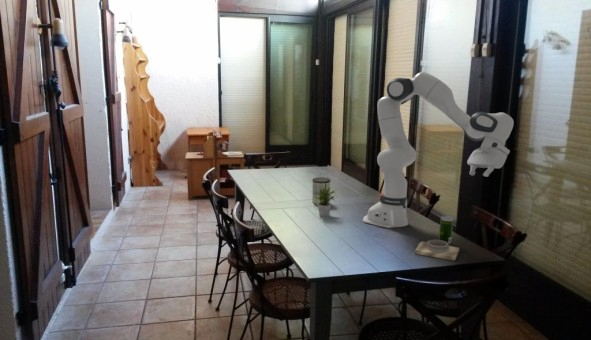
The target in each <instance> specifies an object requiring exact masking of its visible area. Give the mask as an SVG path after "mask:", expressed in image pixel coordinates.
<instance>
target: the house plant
mask: <svg viewBox="0 0 591 340" xmlns="http://www.w3.org/2000/svg"><path fill="white" fill-rule="evenodd" d="M318 187H319V186H318ZM331 188H332V186H330V188H329V186H328V188H327V190H326V193H325V189H324V186H323V190H322V189H321V188H320V187H319V190H320V191H319V192H320V194H319V192H318V191H317V190H316V191H317V193H318V194H319V198H320V199H319V198H318V197H316V196H314V197H315V198H318V199H319V200H320V203H318V205H317V206H318V207H317V208H318V215H319V216H320V217H322V218H323V217H324V218H325V217H329V216H330V213H331V208H332V207H331V206H332V203H331V200H332V201H333V200H334V201H335V197H336V196H337V195H333V196H332V194H335V193H337V191H338V189H337V188H336V189H334V190H332V191H331ZM322 191H323V192H322ZM329 192H330V193H329ZM328 193H329V194H328ZM329 195H330V196H329ZM329 197H330V198H329ZM328 198H329V199H328ZM329 200H330V203H328V202H329Z"/></svg>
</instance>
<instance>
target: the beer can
mask: <svg viewBox="0 0 591 340" xmlns="http://www.w3.org/2000/svg"><path fill="white" fill-rule="evenodd" d="M439 222H440V223H439V232H438V233H439V235H438V240H442V241H445V242H447V243H448V244H449V246H451V244H452V240H453V238H452V237H453V231H454V230H453V228H454V218H453V216H450V215H441V217H440V221H439Z"/></svg>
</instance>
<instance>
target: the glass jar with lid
mask: <svg viewBox="0 0 591 340" xmlns="http://www.w3.org/2000/svg"><path fill="white" fill-rule="evenodd" d="M311 180H312V201H311V203H312V204H313V205H316V206H318V203H320V200H319V199H320V198H319V194H320V192H319V191H320V190H319V187H320V188H321V189H322V190H323V186H324V189H325V193H326V190H327V188H328V186H329V188H330V187H331V178H328V177H315V178H312V179H311ZM318 186H319V187H318ZM330 189H331V188H330ZM316 190H317V191H318V192H319V194H318V193H317V191H316ZM322 192H323V191H322ZM330 192H331V191H330ZM330 192H329V193H330ZM329 193H328V194H329ZM314 196H316V197H318V198H319V199H318V198H315V197H314ZM329 196H331V195H329ZM329 198H331V197H329ZM329 198H328V199H329ZM330 200H331V199H330ZM330 200H329V202H328V203H331V201H330Z"/></svg>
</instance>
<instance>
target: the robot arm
mask: <svg viewBox="0 0 591 340" xmlns="http://www.w3.org/2000/svg"><path fill="white" fill-rule="evenodd" d="M386 93H387V95H385V96H382V97H381V98H380V99H378V100H377V105H376V106H377V119H378V125H379V129H380V135H381V137H382V139H384V140H385V142H386V143H387V146H388V147H387V148H385V149H382V151H380V152H379V153H378V155H377V157H376V158H377V159H376V161H377V165H378V166H379V167H380V169H381V171H382V175H383V181H384V183H383V184H384V185H383V192H382V193H381V194H380V195H379V198H378V200H379V201H378V202H377V203H375V204H373V205H372V206H370V208H369V209H368V210H367V214H366V215H365V216H363V218H362V222H363V223H364V224H365V223H366V224H370V225H372V226H378V227H383V228H388V229H393V228H402V227H406V226H408V225H409V222H408V217H407V206H408V196H407V192H408V181H407V179H406V178H405V174H404V168H407V167H409V166H410V165H413V163H414V162H415V161H416V159H417V151H416V150H415V148H414V147H413V146H412V145H411V144H410V142H409V139H408V138H407V135H406V133H405V129H404V123H403V119H402V114H401V113H402V112H401V105H403V104H406V103H407V102H408V101H409V102H410V101H411V100H412V99H413V98H414V97H415V96H416V95H417V96H418V97H421V98H422V99H424V100H425V101H426V102H428V103H429V104H431V105H432V106H433V107H435V108H437V109H438V110H439V111H441V112H442V113H443V114H445V116H446V117H448V118H449V119H451V121H452V122H453V123H455V124H457V125H458V126H459V127H460V128H461V129H462V130H463V132H464V133H465V135H466V136H467V138H468V139H469V140H471V141H474V142H481V141H482V142H481V145H480V147H478V148H476V149H475V150H473V151H472V153H470V155H469V157H468V159H467V162H466V163H467V165H468V166H470V171H469V175H470V176H475V174H476V173H477V172H476V169H477V168H483V169H486V168H487V169H486V170H485V171H483V173H482V176H483V177H487V178H488V177H489V176H490V175H491V173H492V172H494V169H501V168H503V166H504V164H505V163H506V160H507V158H508V156H509V154H510V152H511V151H510V149H508V147H506V146H505V145H506V141H507V140H508V138H510V135H511V132H512V130H513V128H514V124H515V123H514V119H513V118H512V116H511V115H509V114H507V113H506V112H503V111H502V112H496V113H489V112H485V111H478V112H475V113H473V114H471V116H470V115H469V114H467V112H465V111H464V110H462V108H460V107H459V106H458V105H457V103H456V100H455V98H454V95H453V94H454V92H453V90H452V89H451V88H450V87H449V86H448V85H447V84H446V83H445V82H443V81H442V80H441V79H439V78H438V77H436V76H434V75H433V74H430V73H429V72H425V71H419V72H418V73H417V74H415V75H414V76H413V77H412V78H411V79H410V78H406V77H396V78H393V79H391V80H390V81H389V83H388V84H387V86H386Z"/></svg>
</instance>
